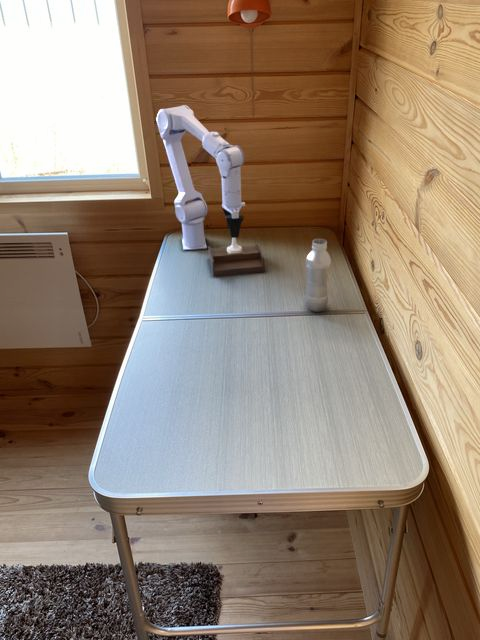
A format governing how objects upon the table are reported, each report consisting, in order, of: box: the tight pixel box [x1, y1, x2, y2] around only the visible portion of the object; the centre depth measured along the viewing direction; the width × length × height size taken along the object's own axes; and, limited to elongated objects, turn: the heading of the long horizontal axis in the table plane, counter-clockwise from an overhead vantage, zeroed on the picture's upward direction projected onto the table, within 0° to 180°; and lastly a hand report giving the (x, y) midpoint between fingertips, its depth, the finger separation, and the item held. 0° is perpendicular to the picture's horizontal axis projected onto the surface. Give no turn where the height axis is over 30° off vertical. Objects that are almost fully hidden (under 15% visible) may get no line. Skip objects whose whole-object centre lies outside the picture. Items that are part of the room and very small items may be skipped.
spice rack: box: [207, 241, 265, 277], centre depth 165 cm, size 12×16×5 cm
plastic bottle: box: [303, 238, 332, 313], centre depth 138 cm, size 6×7×20 cm
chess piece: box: [226, 237, 242, 253], centre depth 163 cm, size 5×5×10 cm
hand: (233, 232), depth 163 cm, fingers open, 7 cm apart
